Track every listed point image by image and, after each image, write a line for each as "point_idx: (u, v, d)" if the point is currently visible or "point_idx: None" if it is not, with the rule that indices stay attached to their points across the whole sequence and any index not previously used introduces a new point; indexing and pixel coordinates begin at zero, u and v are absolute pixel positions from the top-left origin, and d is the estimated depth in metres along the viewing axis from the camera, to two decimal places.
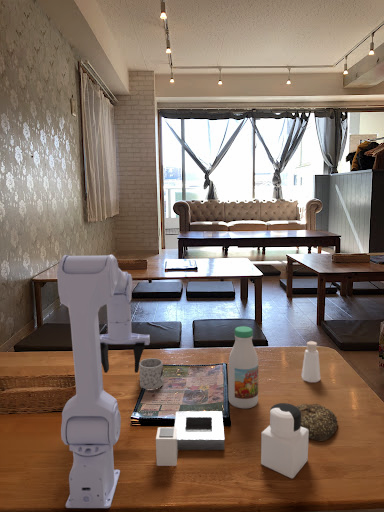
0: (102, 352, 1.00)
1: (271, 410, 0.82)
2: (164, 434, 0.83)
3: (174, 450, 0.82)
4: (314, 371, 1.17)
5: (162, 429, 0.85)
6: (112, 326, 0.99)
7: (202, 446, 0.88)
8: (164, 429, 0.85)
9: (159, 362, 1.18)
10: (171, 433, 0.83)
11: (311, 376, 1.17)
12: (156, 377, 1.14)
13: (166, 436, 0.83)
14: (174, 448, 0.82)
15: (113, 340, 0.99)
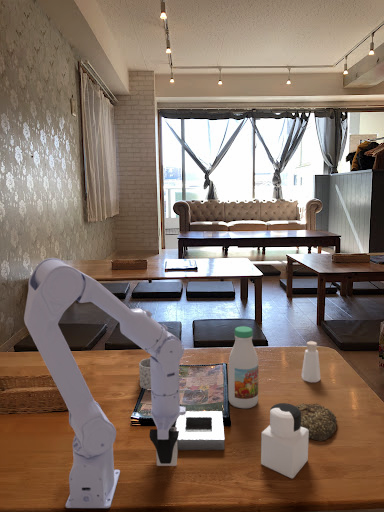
0: None
1: (271, 410, 0.82)
2: None
3: (174, 450, 0.82)
4: (314, 371, 1.17)
5: None
6: None
7: (202, 446, 0.88)
8: None
9: None
10: None
11: (311, 376, 1.17)
12: None
13: None
14: (174, 448, 0.82)
15: None
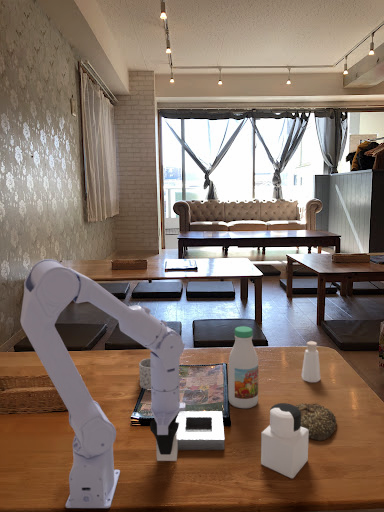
0: None
1: (271, 410, 0.82)
2: None
3: (174, 445, 0.82)
4: (314, 371, 1.17)
5: None
6: None
7: (202, 446, 0.88)
8: None
9: None
10: None
11: (311, 376, 1.17)
12: None
13: None
14: (174, 443, 0.82)
15: None
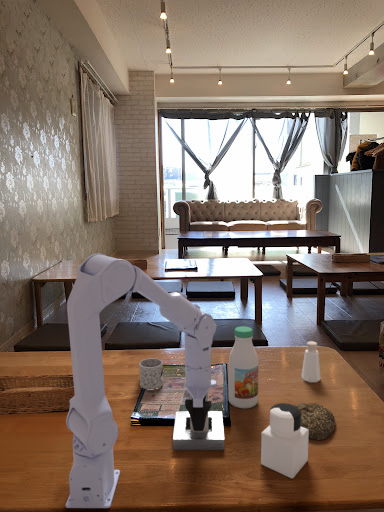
0: None
1: (271, 410, 0.82)
2: None
3: (206, 423, 0.91)
4: (314, 371, 1.17)
5: None
6: None
7: (202, 446, 0.88)
8: None
9: (159, 362, 1.18)
10: None
11: (311, 376, 1.17)
12: (156, 377, 1.14)
13: None
14: (207, 421, 0.90)
15: None
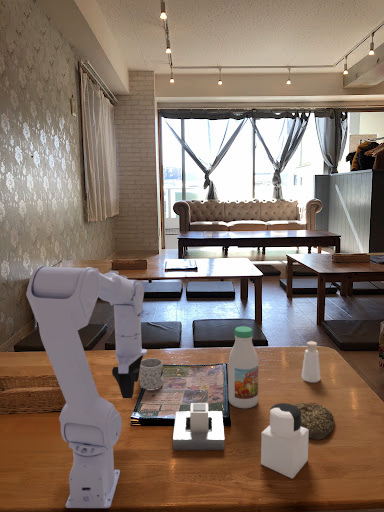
0: None
1: (271, 410, 0.82)
2: (197, 408, 0.91)
3: (206, 423, 0.91)
4: (314, 371, 1.17)
5: (195, 404, 0.93)
6: None
7: (202, 446, 0.88)
8: (197, 404, 0.93)
9: (159, 362, 1.18)
10: (203, 408, 0.92)
11: (311, 376, 1.17)
12: (156, 377, 1.14)
13: (199, 410, 0.91)
14: (207, 421, 0.90)
15: None
